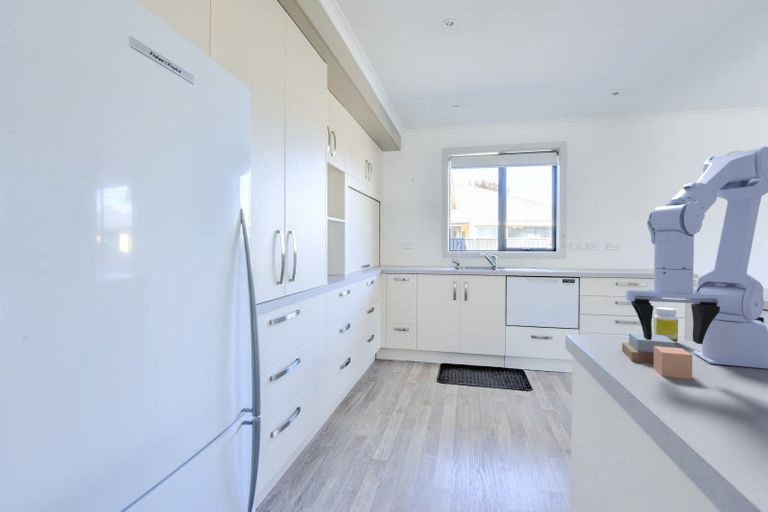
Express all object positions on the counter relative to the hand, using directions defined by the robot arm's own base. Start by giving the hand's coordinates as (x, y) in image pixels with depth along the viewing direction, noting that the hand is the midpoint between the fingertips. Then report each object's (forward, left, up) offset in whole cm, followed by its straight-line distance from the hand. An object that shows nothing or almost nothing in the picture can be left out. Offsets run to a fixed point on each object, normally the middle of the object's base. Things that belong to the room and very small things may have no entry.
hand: (672, 340), depth 67 cm
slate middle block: (+1, -10, -4) cm, 11 cm away
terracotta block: (0, 0, -6) cm, 6 cm away
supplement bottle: (-7, -27, -7) cm, 29 cm away
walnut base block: (+1, -10, -7) cm, 12 cm away
